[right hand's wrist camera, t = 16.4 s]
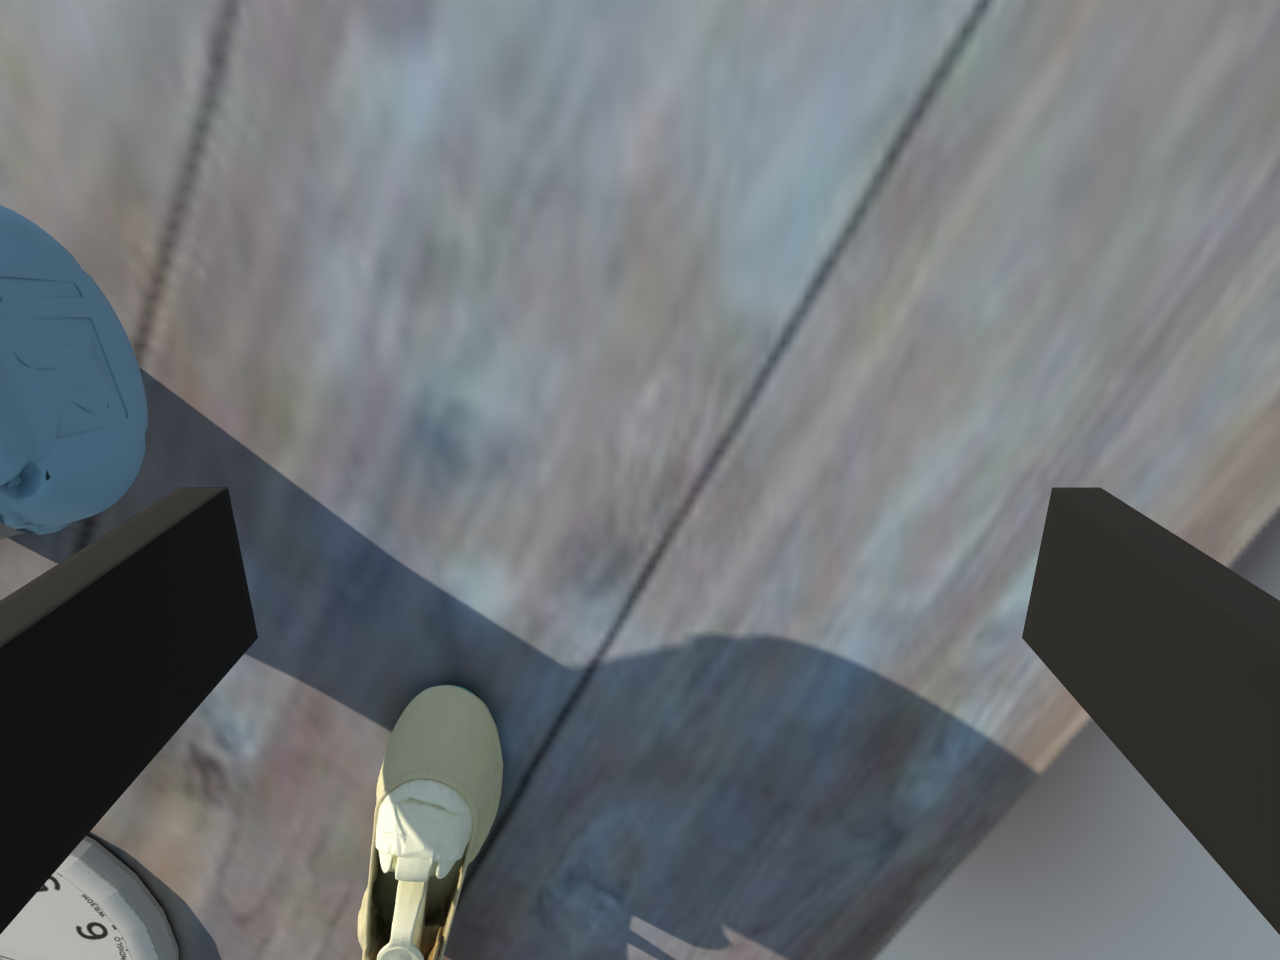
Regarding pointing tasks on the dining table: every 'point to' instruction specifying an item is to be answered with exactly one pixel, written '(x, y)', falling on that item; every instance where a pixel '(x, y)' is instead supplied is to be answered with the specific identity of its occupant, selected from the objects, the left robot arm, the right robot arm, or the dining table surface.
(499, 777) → the ballet flat
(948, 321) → the dining table surface
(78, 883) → the wall clock
